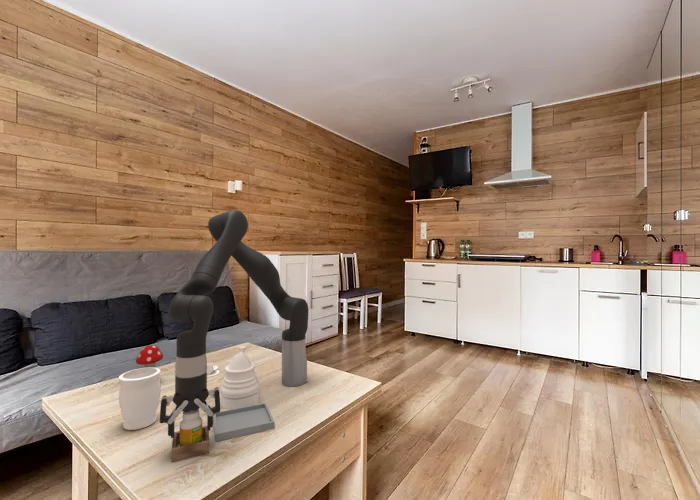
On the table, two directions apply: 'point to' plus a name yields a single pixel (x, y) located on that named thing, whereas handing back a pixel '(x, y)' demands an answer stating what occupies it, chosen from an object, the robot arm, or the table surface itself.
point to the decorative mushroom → (149, 356)
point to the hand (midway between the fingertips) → (191, 432)
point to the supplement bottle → (190, 428)
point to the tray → (242, 421)
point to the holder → (189, 447)
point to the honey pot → (239, 383)
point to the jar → (139, 397)
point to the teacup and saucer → (212, 369)
